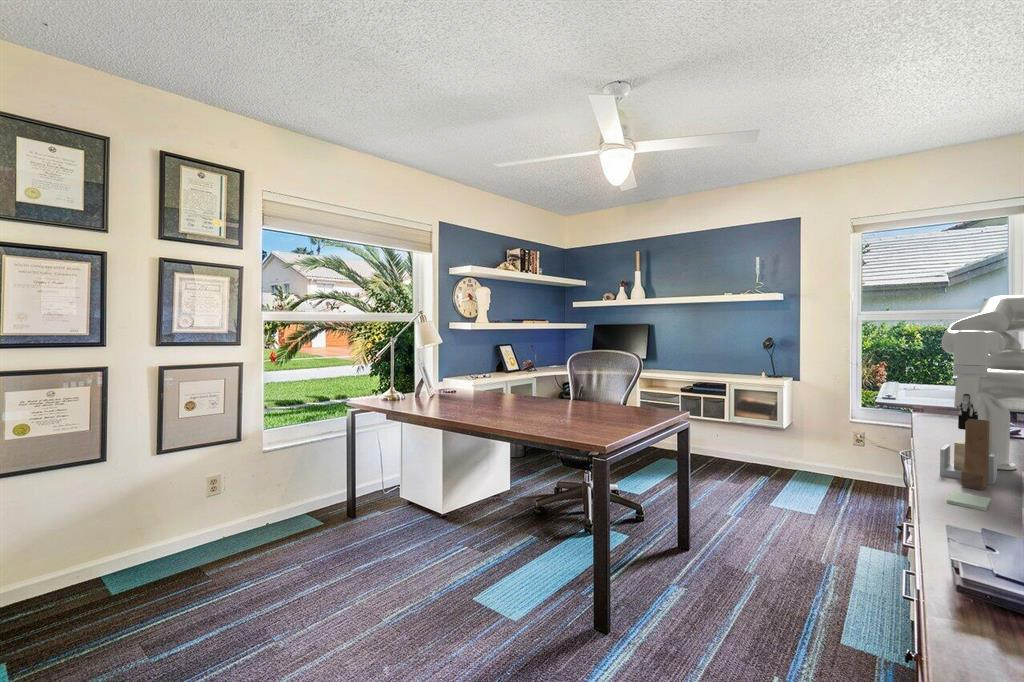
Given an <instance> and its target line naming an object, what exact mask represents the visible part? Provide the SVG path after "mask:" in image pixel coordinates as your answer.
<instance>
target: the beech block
mask: <svg viewBox="0 0 1024 682" xmlns="http://www.w3.org/2000/svg"><path fill="white" fill-rule="evenodd" d="M953 445H954V448H953V449H954V450H953V451H954V452H953V455H954V456H953V464H954V469H958V470H963V467H964V461H965V441H960V440H956V441H955V442H954V444H953Z"/></svg>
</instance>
